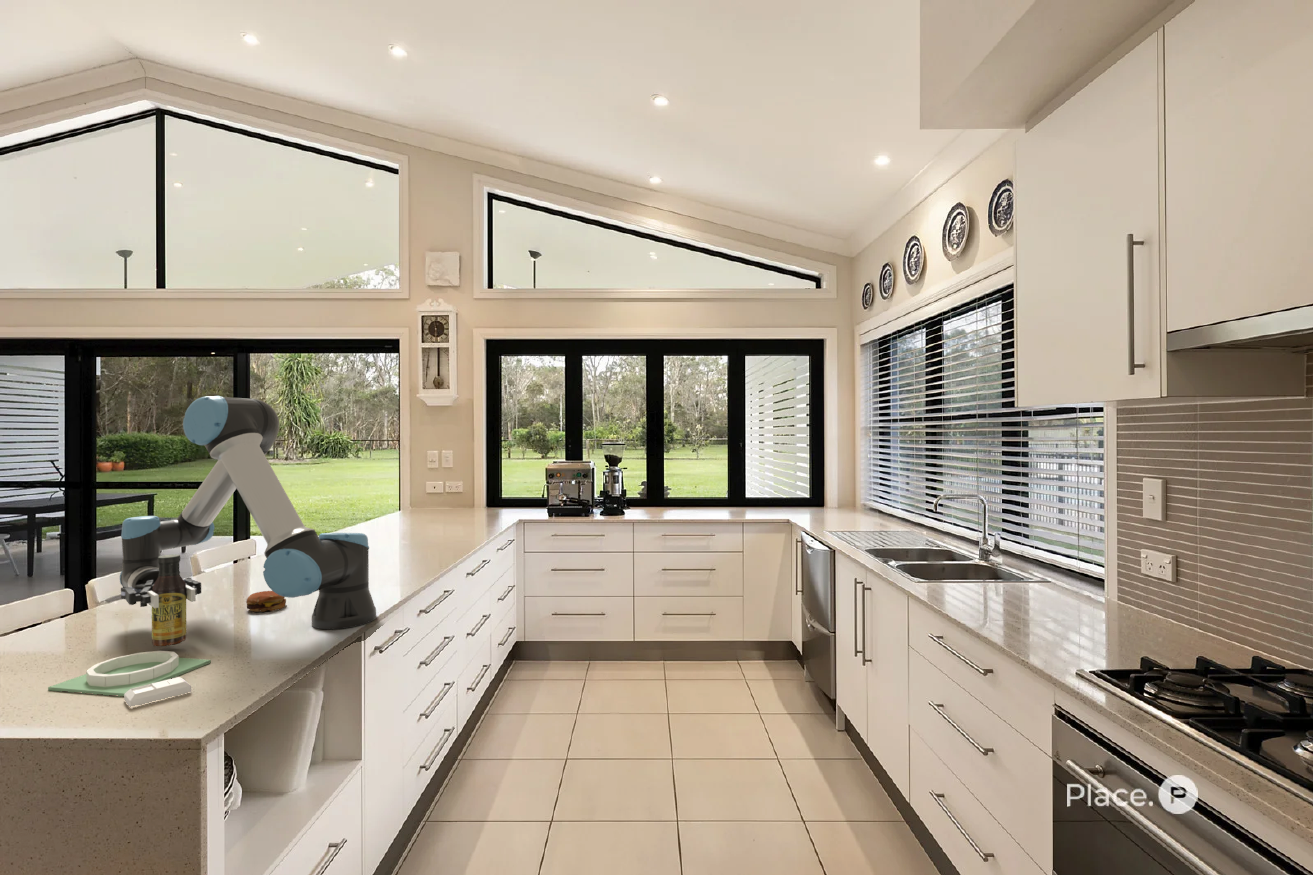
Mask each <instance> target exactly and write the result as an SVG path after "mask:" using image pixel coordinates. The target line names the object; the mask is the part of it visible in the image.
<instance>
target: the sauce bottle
mask: <svg viewBox="0 0 1313 875" xmlns="http://www.w3.org/2000/svg"><path fill="white" fill-rule="evenodd" d="M180 561H181V555H180V554H164V555H163V554H162V555H160V556H159V557H158V564H159V574H158V575H159V576H158V578H157V580H156V582H155V583H154V585H153V592H154V593H156V594H158V595H159V608H153V607H152V606H151V639H152V640H151V643H152V645H153V647H159V648H162V647H170V646H175V645H178V644H182V642H185V640H186V638H187V599H186V583H185V581H184V580H183V579H184V578H182V576H181V571H180Z"/></svg>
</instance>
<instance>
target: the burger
mask: <svg viewBox="0 0 1313 875" xmlns="http://www.w3.org/2000/svg"><path fill="white" fill-rule="evenodd" d="M245 602H246V609H247V610H249V611H251V612H261V613H262V612H263V613H264V612H267V611H270V612H273V611H274V612H275V611H278V609H279V610H281V609H283V608H285V607H286V604H287V599H286V597H284V596H280V595H278V594H276V593H275V592H273V591H272V590H264V591H257V592H254V593H252V594H250V595H249V596H248V597H247V598H246V601H245Z"/></svg>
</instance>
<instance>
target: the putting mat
mask: <svg viewBox="0 0 1313 875" xmlns="http://www.w3.org/2000/svg"><path fill="white" fill-rule="evenodd" d="M211 660H212V659H207V658H206V659H204V658H201V659H200V658H189V657H187V658H186V657H179V655H178V654H177V653H176V652H175V651H168V650H154V651H145V652H135V653H131V654H126V655H121V656H117V657H112V658H110V659H107V660H104V661H101V662H98V663H95V664H93V665H92V666H91V667H89V668H88V669H87V670H86V671H85V672H86V673H85V674H82V675H79V676H77V677H74V678H73V677H72V678H71V679H68V680H65V681H62V682H59V683H56V684H54V685H51V686H48V687H47V690H48V691H49V692H50V691H52V692H62V691H68V692H67V693H74V692H82V693H81V694H85V693H93V694H92V695H97V694H103V695H102V696H109V695H118V696H117V697H120V696H124V694H125V693H126V692H127V691H128V690H130V689H131V688H136V687H140V686H144V685H148V684H152V683H156V682H160V681H164V680H168V679H171V678H176V677H180V676H182V675H184V674H186V673H188V672H189V673H190V671H193V670H196V669H198V668H201V667H203V666H206V665H208V664H211V663H212V662H211Z"/></svg>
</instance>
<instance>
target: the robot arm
mask: <svg viewBox="0 0 1313 875" xmlns="http://www.w3.org/2000/svg"><path fill="white" fill-rule="evenodd" d="M182 420H183V422H182V429H183V432H184V435H185V437H186V438H187V439H188V441H190V443H192V444H196V445H198V446H204V447H205V448H206V450H207V452H208V455H210V458H212V459H214V460H217V461H216V463H215V464H214V466H213V467H212V468H211V470H210V472H209V473H208V474H207V475H206V477H205V479H204V480H203V482H202V483H201V484H200V485H199V487H198V489H197V490H196V491H195V492H194V494H193V496H192V497H191V499H190V500H189V501H188V503H187V504H186V506H185V507H184V509H183V510H182V511H181V513H180V514H179V515H178V517H177V518H176V519H172V520H164V521H163V520H162V521H160V517H159V516H156V515H141V516H133V517H128V518H125V519H124V520H123V521H122V525H121V535H120V537H121V547H122V549H121V550H122V563H121V566H122V568H121V569H122V570H121V571H120V573H119V584H120V585H121V586H122V587H120V599H121V600H125V601H126V602H127V604H128V605H129V606H133V605H136V604H137V603H140V604H139V605H140V608H142V607H148V605H149V606H150V607H151V608H152V607H153V608H159V595H158V594H156V593H154V592H153V585H154V583H155V582H156V580H157V578H158V576H159V575H158V574H159V564H158V557H159V556H161V551H166V550H171V549H178V548H182V547H189V546H197V545H199V544H201V543H206V542H208V541H209V540H211V538H213V536H214V534H215V533H214V530H215V524H214V520H215V519H216V517H218V515H219V513H220V512H221V510H222V509H223V508H224V506H225V505H226V504H227V503H228V501H229V499H231V497H232V496H233V495H234V492H235V491H236V490H237V491H238V493H239V495H240V497H241V499H242V501H243V503H244V504H245V506H246V508H247V510H248V511H249V513H250V515H251V517H252V519H253V520H254V523H255V524H256V526H257V528H258V529H259V531H260V534H261V535H262V537H263V539H264V540H265V542H266V544H267V546H266V548H265V550H264V552H263V554H264V557H265V558H266V559H265V561H264V564H263V566H262V567H263V568H264V570H263V572H262V573H263V574H262V575H263V579H264V582H265V583H266V585H267V587H268V588H269V589H270V591H273V592H275V593H276V594H278V595H280V596H284V597H285V598H289V599H291V598H292V599H293V598H300V597H306V596H309V595H312V594H313V593H315V592H318V597H317V599H316V603H315V605H314V608H313V613H312V615H311V626H312V627H313V628H315V629H319V630H340V629H346V628H347V629H349V628H353V627H358V626H362V625H365V624H368V623H371V622H373V621H374V620H375V619H377V608H376V606H375V603H374V600H373V597H372V594H371V592H370V588H369V586H370V585H369V577H370V576H369V575H370V574H369V565H370V564H369V550H370V546H369V539H368V536H367V535H366V534H365V533H362V532H361V533H360V532H323V533H320V534H319V535H318V533H317V532H316V530H315V529H314V528H311V527H307V526H305V525H304V523H303V521H302V519H301V518H300V516H299V513H298V512H297V510H296V509H295V506H294V505H293V503H292V500H291V499H290V498H289V496H288V494H287V492H286V490H285V489H284V487H283V485H282V484H281V481H280V480H279V478H278V477H277V474H276V473H275V471H274V470H273V468H272V466H271V464H270V462H269V460H268V459H267V457H266V455H267V454H268V452H269V451H270V450H271V448H272V447H273V446H274V444H275V442H276V440H277V437H278V434H279V430H280V420H279V416H278V414H277V412H276V411H275V409H274V408H273V407H272V406H271V405H270V404H268V403H266V402H265V401H263V400H261V399H258V398H242V397H225V396H220V395H214V396H211V395H210V396H201V397H198V398H196V399H195V400H193V401H192V403H190V405H188V407H187V409H186V410H185V413H184V417H183V419H182ZM263 568H262V569H263ZM182 579H183V580H184V581H185V583H186V600H187V601H189V602H193V603H194V602H196V601H197V600H196V596H197V595H199V594H202V582H200V581H197V580H196V579H195V580H194V579H192V577H189V576H188V577H185V578H182Z"/></svg>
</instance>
